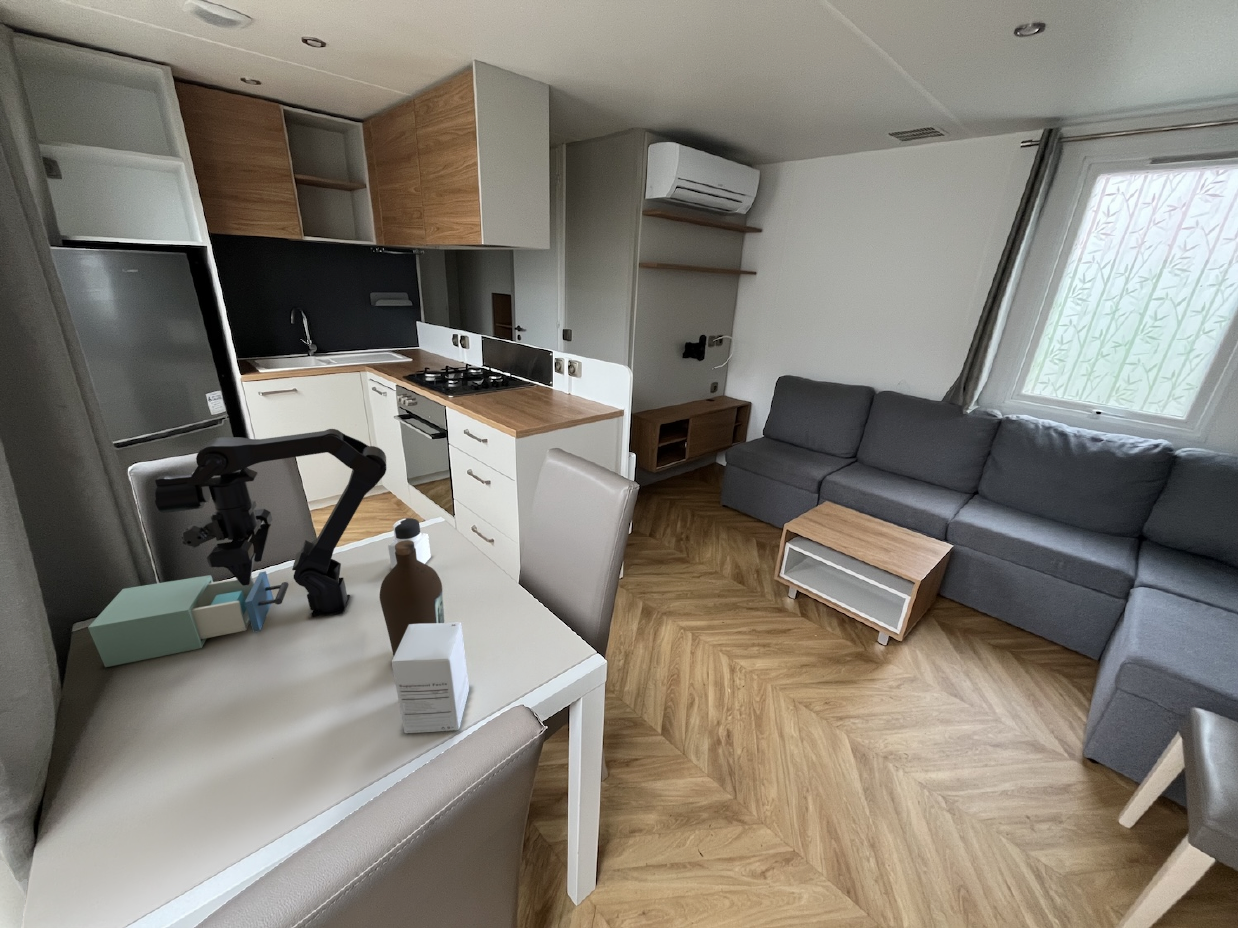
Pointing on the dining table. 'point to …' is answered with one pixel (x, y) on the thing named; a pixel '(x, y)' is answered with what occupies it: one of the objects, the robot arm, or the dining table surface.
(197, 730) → the dining table surface
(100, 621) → the cabinet
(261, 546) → the robot arm
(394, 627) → the olive oil
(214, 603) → the block
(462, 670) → the white product box
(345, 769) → the dining table surface
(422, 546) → the medicine bottle
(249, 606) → the drawer
